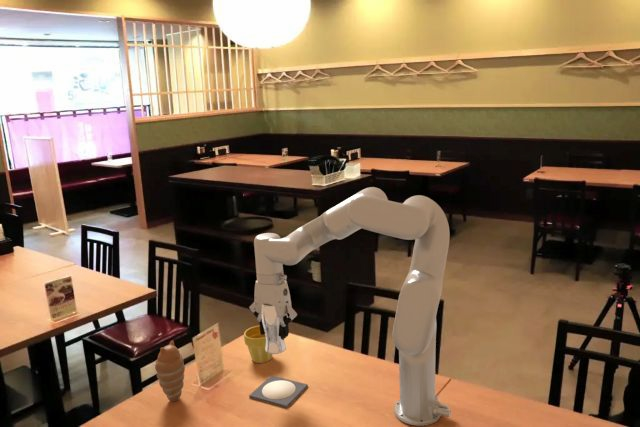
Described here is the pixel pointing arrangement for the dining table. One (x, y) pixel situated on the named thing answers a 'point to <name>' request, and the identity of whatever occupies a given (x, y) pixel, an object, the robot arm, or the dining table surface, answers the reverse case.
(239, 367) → the dining table surface
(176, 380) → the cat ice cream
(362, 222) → the robot arm
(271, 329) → the beer glass
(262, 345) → the plant pot
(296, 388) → the mat
